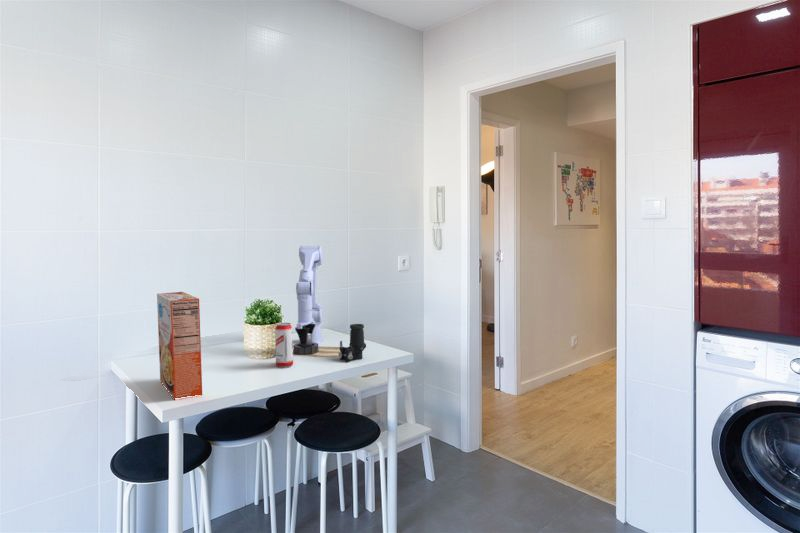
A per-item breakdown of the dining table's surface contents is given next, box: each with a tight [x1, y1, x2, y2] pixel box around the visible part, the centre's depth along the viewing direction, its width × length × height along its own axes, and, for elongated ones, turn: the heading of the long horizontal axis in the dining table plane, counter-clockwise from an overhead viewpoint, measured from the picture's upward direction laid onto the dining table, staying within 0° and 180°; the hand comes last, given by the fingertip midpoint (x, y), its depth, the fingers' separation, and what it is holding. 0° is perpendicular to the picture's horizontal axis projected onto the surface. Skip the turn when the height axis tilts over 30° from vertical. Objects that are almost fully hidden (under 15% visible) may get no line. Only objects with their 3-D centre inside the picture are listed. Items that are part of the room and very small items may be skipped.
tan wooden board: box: [293, 345, 341, 359], centre depth 208 cm, size 18×24×1 cm
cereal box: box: [156, 291, 203, 399], centre depth 161 cm, size 23×8×30 cm, turn 35°
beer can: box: [274, 322, 294, 369], centre depth 188 cm, size 6×6×16 cm
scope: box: [339, 323, 367, 363], centre depth 195 cm, size 8×14×10 cm
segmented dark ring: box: [293, 342, 319, 355], centre depth 207 cm, size 10×10×3 cm
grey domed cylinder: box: [299, 333, 312, 347], centre depth 207 cm, size 5×5×5 cm
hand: (305, 343), depth 207 cm, fingers closed on grey domed cylinder, 5 cm apart
